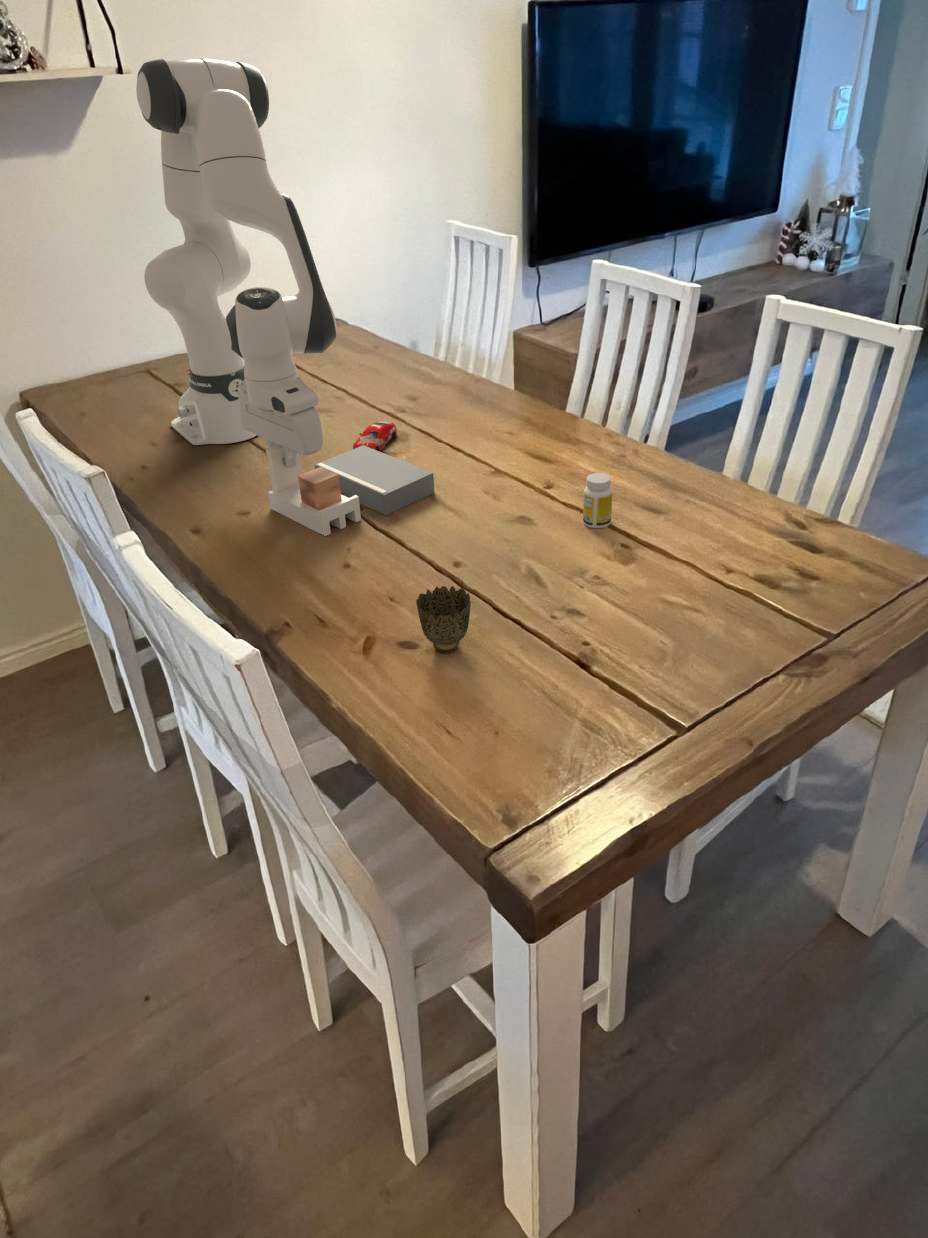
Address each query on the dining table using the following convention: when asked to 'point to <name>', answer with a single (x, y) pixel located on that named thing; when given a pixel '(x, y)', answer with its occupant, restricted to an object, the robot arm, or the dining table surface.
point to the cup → (444, 616)
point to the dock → (379, 479)
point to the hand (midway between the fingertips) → (285, 464)
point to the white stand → (289, 498)
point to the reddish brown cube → (319, 488)
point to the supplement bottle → (597, 501)
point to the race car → (377, 435)
